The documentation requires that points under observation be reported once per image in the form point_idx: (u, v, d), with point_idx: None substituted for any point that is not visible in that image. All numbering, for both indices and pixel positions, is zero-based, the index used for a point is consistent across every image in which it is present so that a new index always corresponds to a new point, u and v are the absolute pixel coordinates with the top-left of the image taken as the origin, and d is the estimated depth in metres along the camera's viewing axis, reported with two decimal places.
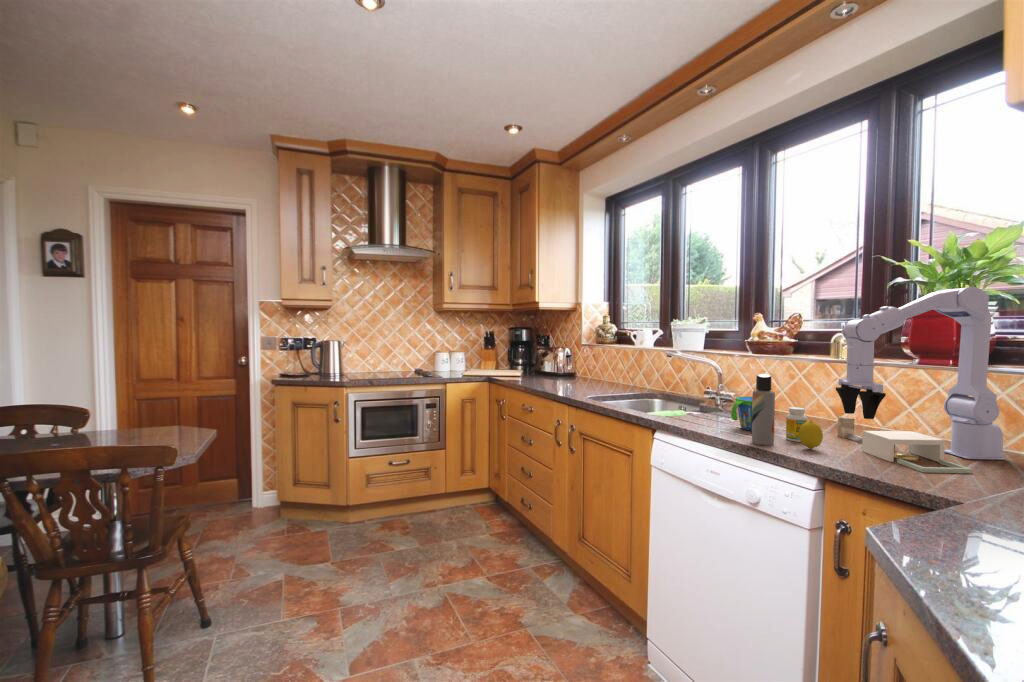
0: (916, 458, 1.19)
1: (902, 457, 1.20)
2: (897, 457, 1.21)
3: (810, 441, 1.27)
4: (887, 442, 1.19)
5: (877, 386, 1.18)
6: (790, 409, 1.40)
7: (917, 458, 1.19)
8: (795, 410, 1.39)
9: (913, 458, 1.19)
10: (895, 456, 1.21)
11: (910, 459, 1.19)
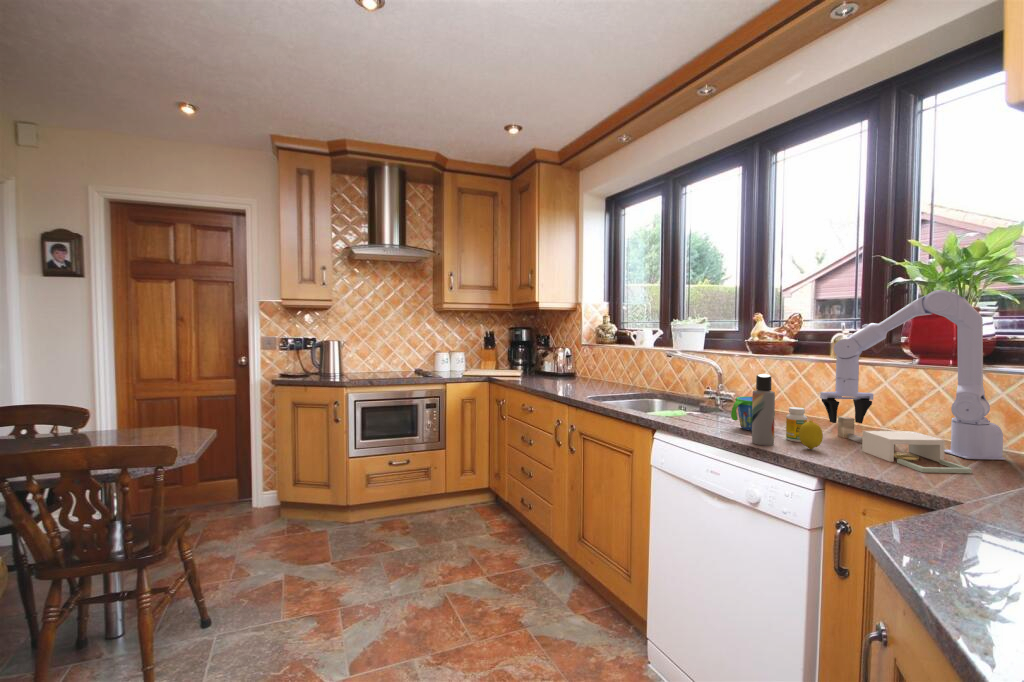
0: (916, 458, 1.19)
1: (902, 457, 1.20)
2: (897, 457, 1.21)
3: (810, 441, 1.27)
4: (887, 442, 1.19)
5: (821, 393, 1.45)
6: (790, 409, 1.40)
7: (917, 458, 1.19)
8: (795, 410, 1.39)
9: (913, 458, 1.19)
10: (895, 456, 1.21)
11: (910, 459, 1.19)
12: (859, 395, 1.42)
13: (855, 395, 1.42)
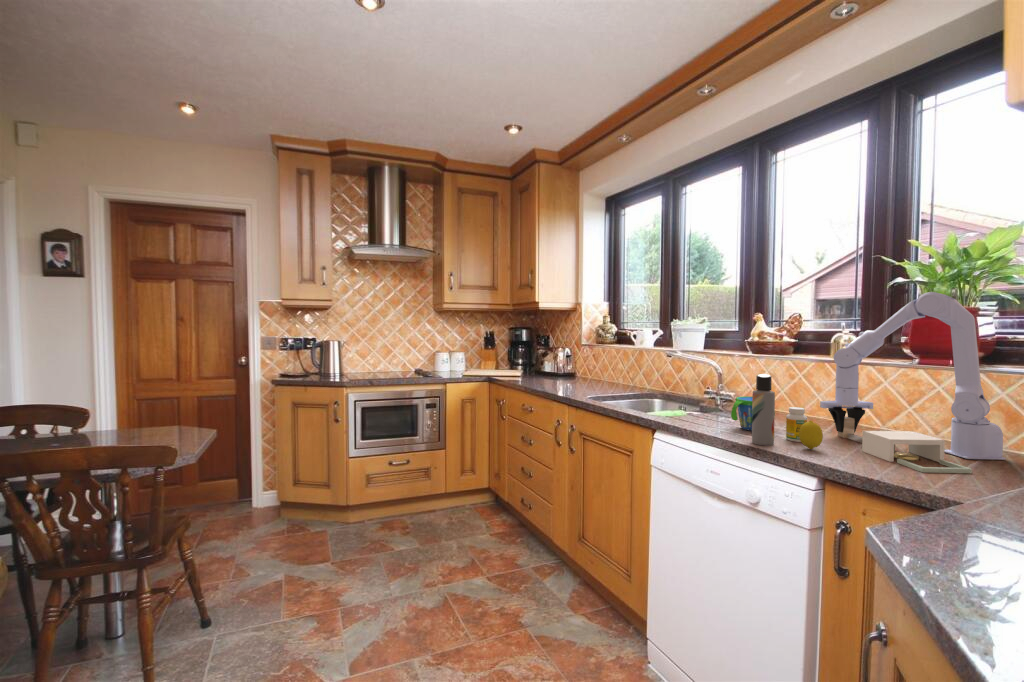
0: (916, 458, 1.19)
1: (902, 457, 1.20)
2: (897, 457, 1.21)
3: (810, 441, 1.27)
4: (887, 442, 1.19)
5: (821, 402, 1.46)
6: (790, 409, 1.40)
7: (917, 458, 1.19)
8: (795, 410, 1.39)
9: (913, 458, 1.19)
10: (895, 456, 1.21)
11: (910, 459, 1.19)
12: (859, 404, 1.42)
13: (855, 404, 1.42)
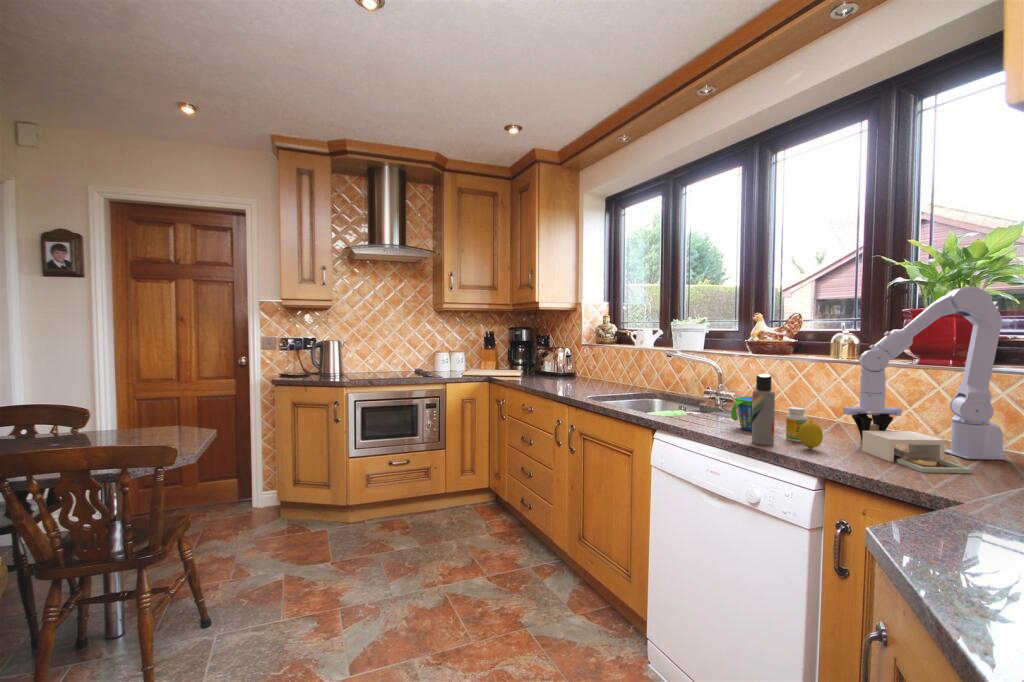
0: (934, 463, 1.13)
1: (919, 462, 1.14)
2: (914, 462, 1.15)
3: (810, 441, 1.27)
4: (887, 442, 1.19)
5: (844, 409, 1.34)
6: (790, 409, 1.40)
7: (935, 463, 1.14)
8: (795, 410, 1.39)
9: (931, 464, 1.13)
10: (912, 461, 1.16)
11: (927, 464, 1.13)
12: (886, 411, 1.31)
13: (882, 411, 1.31)
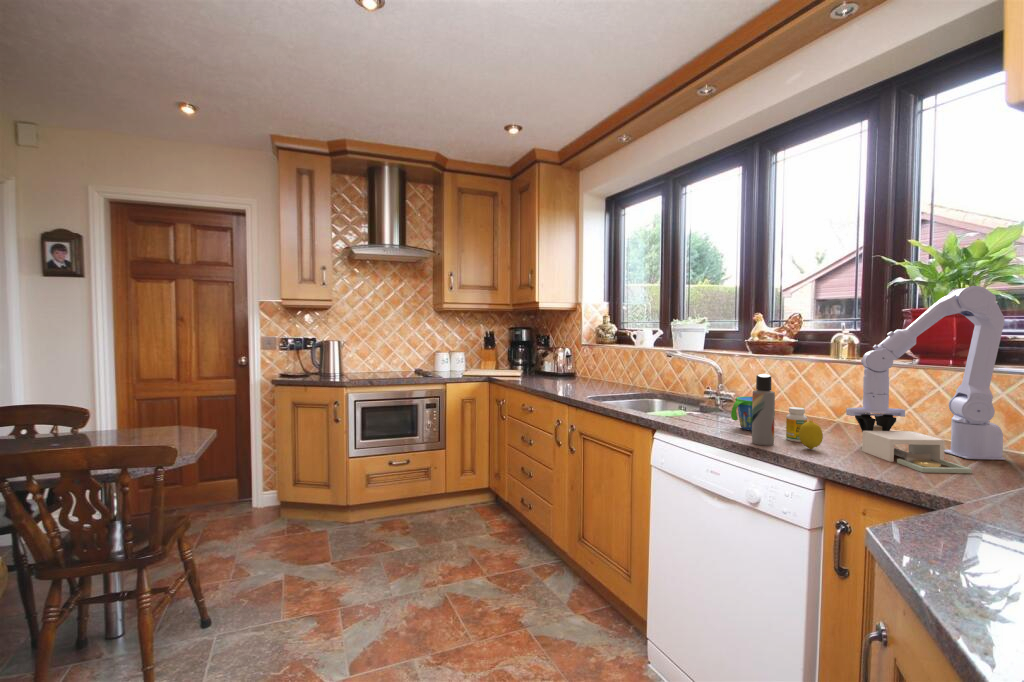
0: (938, 466, 1.12)
1: (923, 465, 1.13)
2: (918, 464, 1.14)
3: (810, 441, 1.27)
4: (887, 442, 1.19)
5: (847, 409, 1.33)
6: (790, 409, 1.40)
7: (939, 466, 1.12)
8: (795, 410, 1.39)
9: (935, 466, 1.12)
10: (915, 463, 1.15)
11: None
12: (890, 412, 1.30)
13: (885, 412, 1.29)
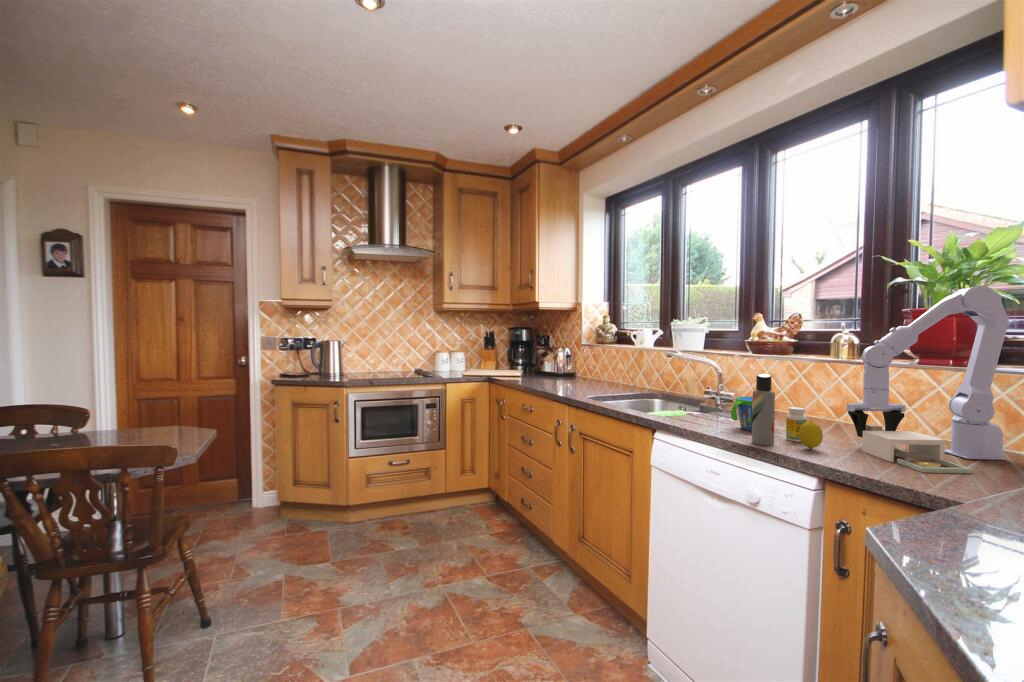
0: (938, 466, 1.12)
1: (923, 465, 1.13)
2: (918, 464, 1.14)
3: (810, 441, 1.27)
4: (887, 442, 1.19)
5: (847, 405, 1.33)
6: (790, 409, 1.40)
7: (939, 466, 1.12)
8: (795, 410, 1.39)
9: (935, 466, 1.12)
10: (915, 463, 1.15)
11: None
12: (890, 407, 1.30)
13: (886, 407, 1.29)
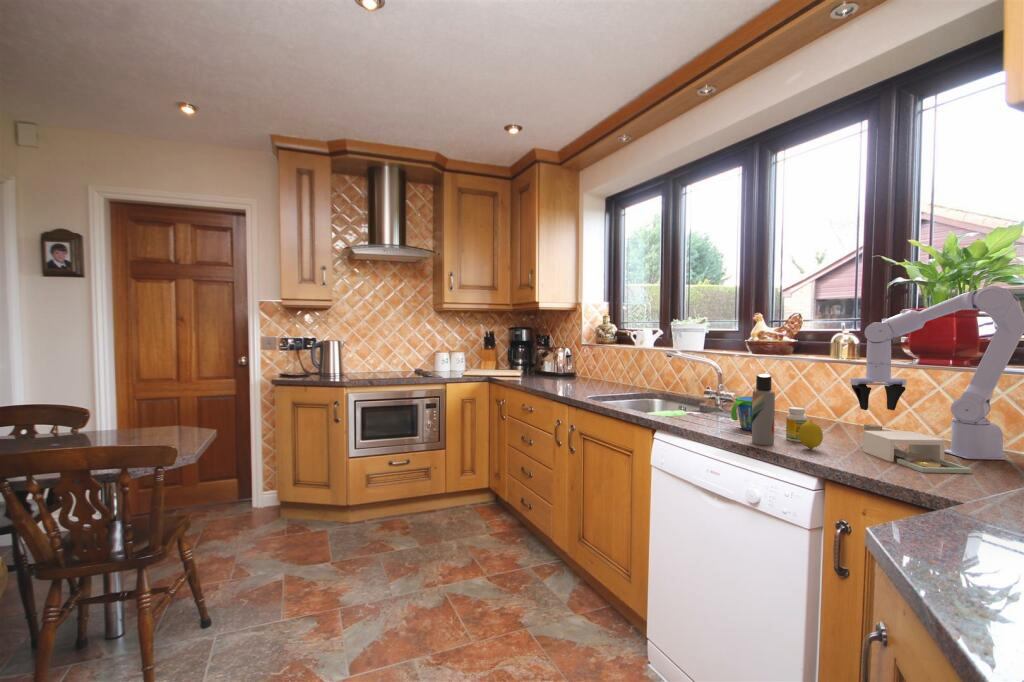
0: (938, 466, 1.12)
1: (923, 465, 1.13)
2: (918, 464, 1.14)
3: (810, 441, 1.27)
4: (887, 442, 1.19)
5: (851, 379, 1.40)
6: (790, 409, 1.40)
7: (939, 466, 1.12)
8: (795, 410, 1.39)
9: (935, 466, 1.12)
10: (915, 463, 1.15)
11: None
12: (892, 381, 1.36)
13: (888, 381, 1.36)
